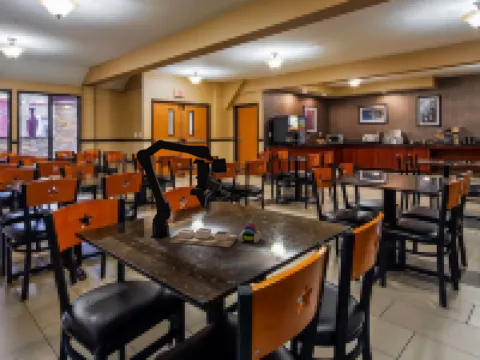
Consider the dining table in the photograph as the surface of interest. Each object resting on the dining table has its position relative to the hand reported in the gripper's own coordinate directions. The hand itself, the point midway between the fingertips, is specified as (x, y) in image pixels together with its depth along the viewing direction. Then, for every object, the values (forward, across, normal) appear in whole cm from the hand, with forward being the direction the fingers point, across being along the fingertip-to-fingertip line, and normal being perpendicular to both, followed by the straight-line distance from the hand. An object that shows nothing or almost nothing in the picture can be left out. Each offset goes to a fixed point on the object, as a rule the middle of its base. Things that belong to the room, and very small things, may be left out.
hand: (203, 208), depth 155 cm
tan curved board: (+12, -9, -3) cm, 15 cm away
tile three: (+11, -9, -11) cm, 18 cm away
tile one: (+11, -9, +5) cm, 15 cm away
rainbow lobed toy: (+12, -4, -22) cm, 26 cm away
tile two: (+10, -9, -3) cm, 14 cm away
